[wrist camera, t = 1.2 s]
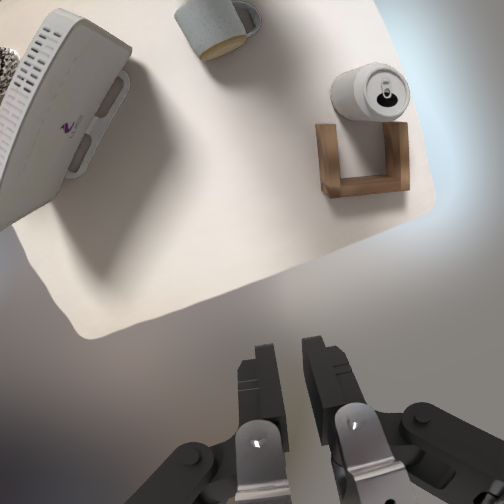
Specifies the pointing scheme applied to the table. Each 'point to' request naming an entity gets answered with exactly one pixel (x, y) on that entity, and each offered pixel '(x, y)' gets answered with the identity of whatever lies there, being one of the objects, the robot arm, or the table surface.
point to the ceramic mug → (215, 26)
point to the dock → (345, 187)
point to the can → (371, 93)
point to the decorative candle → (7, 67)
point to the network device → (55, 109)
